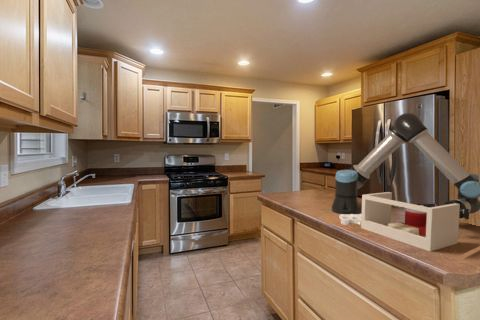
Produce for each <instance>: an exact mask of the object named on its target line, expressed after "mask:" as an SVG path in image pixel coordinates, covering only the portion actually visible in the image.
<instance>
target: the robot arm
mask: <svg viewBox="0 0 480 320" xmlns="http://www.w3.org/2000/svg"><path fill="white" fill-rule="evenodd" d="M408 143H413V145H414V146H415V147H417V148H418V150H420V151H421V152H422V154H423V155H424V156H426V158H427V159H428V160H429V161H430V162H431V163H432V164H433V165H434V166H435V167H436V168H437V169H438V170H439V171H440V172H441V173H442V174H443V176H445V177H446V178H447V179H448V180H449V181H450V182H451V183H452V185H454V187H456V189H457V197H456V198H457V199H451V200H448V201H446V202H444V203H443V204H437V203H416V205H419V206H424V207H436V206H442V205H448V204H454V203H456V204H460V211H459V219H465V220H470V214H475V213H478V212H479V211H480V200H479V198H480V179H479V178H480V176H479V174H477V173H469V171H467V169H465V168H464V167H463V166H462V165H461V164H460V162H458V161H457V160H456V158H454V157H453V156H452V155H451V154H450V153H449V151H448V150H446V149H445V147H443V146H442V145H441V144H440V143H439V142H438V141H437V140H436V139H435V138H434V137H433V136H432V135H431V134H430V133H429V129H428V127H427V126H426V125H425V124H424V123H423V121H422V119H420V117H419V115H417V114H415V113H411V112H410V113H409V112H406V113H401V114H400V115H399V116H397V117H396V118H395V121H394V123H393V125H392V126H391V127H390V128H389V129H388V134H387V135H386V136H385V137H384V138H383V139H382V140H381V141H380V142H379V143H378V144H377V145H376V146H374V148H373V149H372V150H371V151H370V152H369V153H368V154H367V155H366V156H365V157H364V158H363V159H362V160H361V161H360V162H359V163H358V164H353V165H352V166H351V167H350V168H349V169H341V170H337V171H336V173H335V177H334V178H335V179H334V180H335V182H334V183H335V185H334V186H335V191H334V193H335V194H334V199H333V202H332V205H331V211H332V212H334V213H337V214H339V215H340V214H361V208H360V204H359V202H358V190H360V189H361V188H362V187H363V186H364V185H365V184H366V183H367V181H368V180H370V178H371V176H370V175H371V174H372V173H374V172H375V170H376V169H378V167H379V166H380V165H381V164H382V163H384V162H385V161H386V159H388V158H389V156H391V155H392V154H393V153H394V152H395V151H396V150H397V149H398V148H399V147H400V146H401V145H404V144H408Z"/></svg>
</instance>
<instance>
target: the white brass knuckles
mask: <svg viewBox="0 0 480 320" xmlns="http://www.w3.org/2000/svg"><path fill="white" fill-rule="evenodd" d="M361 216H362V213H359V214H340V213H339V214H338V217H339V220H340V224H341V225H343V226H348V225H352V224H356V225H357V224H358V225H359V226H361Z"/></svg>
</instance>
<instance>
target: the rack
mask: <svg viewBox="0 0 480 320" xmlns="http://www.w3.org/2000/svg"><path fill="white" fill-rule="evenodd" d="M361 196H362V197H361V214H362V216H361V225H360V228H361V229H363V230H366V231H369V232H372V233H375V234H377V235H381V236H383V237H386V238H389V239H392V240H395V241H398V242H401V243H405V244H407V245H409V246H413V247H415V248H418V249H422V250H425V251H428V252H432V251H433V252H434V251H436V250H440V249H443V248H447V247H449V246H453V245H456V244H458V243H459V228H460V227H459V226H460V225H459V224H460V218H459V211H460V204H456V203H454V204H448V205H443V204H441V205H442V206H436V207H424V206H419V205H417V204H414V203H409V202H403V201H399V200H393V192H390V191H387V192H386V191H385V192H376V193H367V194H362V195H361ZM392 206H394V207H399V208H405V209H406V208H408V209H413V210H417V211H422V212H427V221H426V236H419V235H415V234H412V233H409V232H405V231H402V230H399V229H395V228H392V227H388V224H389V223H392Z"/></svg>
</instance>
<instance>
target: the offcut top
mask: <svg viewBox="0 0 480 320" xmlns="http://www.w3.org/2000/svg"><path fill="white" fill-rule="evenodd" d="M387 226H388V227H392V228H395V229H399V230H402V231H405V232H409V233H412V234H419V228H415V227H412V226H408V225H405V223H401V222H396V221H395V222H391V223H389V224H388V225H387Z"/></svg>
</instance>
